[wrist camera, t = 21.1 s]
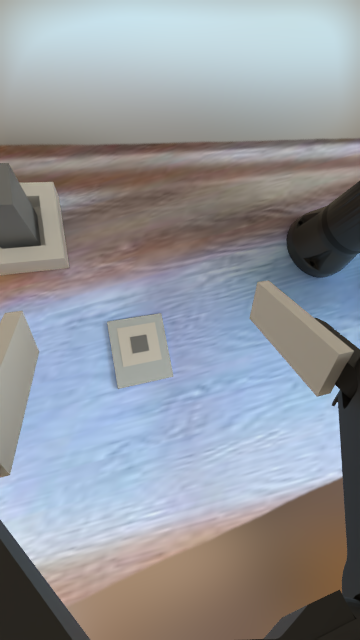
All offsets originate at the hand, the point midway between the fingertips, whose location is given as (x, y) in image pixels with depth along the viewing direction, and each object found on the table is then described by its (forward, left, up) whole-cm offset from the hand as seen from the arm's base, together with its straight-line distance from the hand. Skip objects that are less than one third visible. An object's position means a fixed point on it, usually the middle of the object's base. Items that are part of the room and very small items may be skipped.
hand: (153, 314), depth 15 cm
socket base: (+16, -24, -33) cm, 44 cm away
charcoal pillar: (+15, -24, -31) cm, 42 cm away
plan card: (-1, 0, -33) cm, 33 cm away
